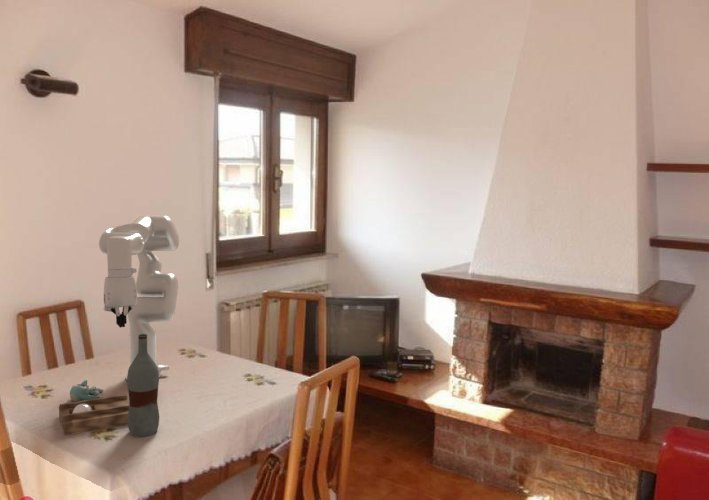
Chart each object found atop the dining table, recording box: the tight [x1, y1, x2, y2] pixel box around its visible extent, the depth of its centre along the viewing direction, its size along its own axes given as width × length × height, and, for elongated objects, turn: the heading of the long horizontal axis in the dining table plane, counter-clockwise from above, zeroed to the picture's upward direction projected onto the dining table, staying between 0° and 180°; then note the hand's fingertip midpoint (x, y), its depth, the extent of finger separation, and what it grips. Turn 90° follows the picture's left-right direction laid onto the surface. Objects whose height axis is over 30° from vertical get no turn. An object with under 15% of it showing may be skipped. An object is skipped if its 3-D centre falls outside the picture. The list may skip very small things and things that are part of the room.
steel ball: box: [72, 404, 92, 413], centre depth 185 cm, size 6×6×6 cm
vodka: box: [126, 334, 160, 438], centre depth 179 cm, size 9×9×30 cm
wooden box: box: [58, 394, 130, 436], centre depth 188 cm, size 20×16×5 cm
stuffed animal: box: [69, 379, 104, 402], centre depth 206 cm, size 11×7×12 cm
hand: (121, 326), depth 201 cm, fingers closed
